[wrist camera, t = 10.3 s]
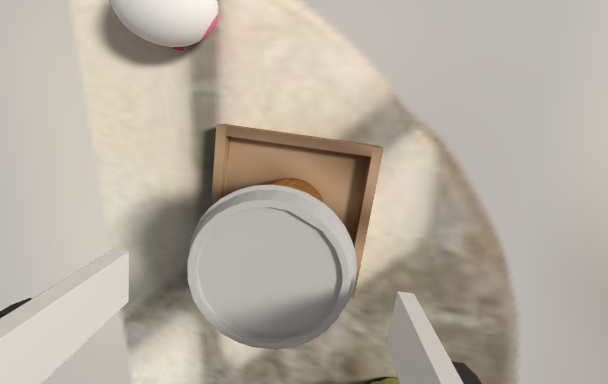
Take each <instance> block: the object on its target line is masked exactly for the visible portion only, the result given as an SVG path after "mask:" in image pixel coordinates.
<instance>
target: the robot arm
mask: <svg viewBox="0 0 608 384" xmlns="http://www.w3.org/2000/svg"><path fill="white" fill-rule="evenodd" d="M128 302H129V251H124V250H117V249H113V250H111V251H110V252H108V253H106V254H105V255H103V256H102V257H100V258H98V259H97V260H95V261H93V262H92V263H90V264H88V265H87V266H85V267H84V268H82V269H80V270H79V271H77V272H75V273H74V274H72V275H70V276H69V277H67V278H66V279H64V280H62V281H61V282H59V283H57V284H56V285H54V286H53V287H51V288H49V289H48V290H46V291H44V292H43V293H41V294H40V295H38V296H37V297H35V298H33V299H32V298H29V299H26V300H23V301H21V302H18V303H16V304H13V305H10V306H9V307H7V308H6V309H4V310H2V311H0V384H41V383H42V382H43V381H44V380H46V379H47V378H48V377H49V376H50V375H51V374H52V373H53V372H54V371H55V370H56V369H57V368H58V367H59V366H60V365H62V364H63V363H64V362H65V361H66V360H67V359H68V358H69V357H70V356H71V355H72V354H73V353H74V352H75V351H76V350H78V349H79V348H80V347H81V346H82V345H83V344H84V343H85V342H86V341H87V340H88V339H89V338H90V337H91V336H92V335H94V334H95V332H97V331H98V330H99V329H100V328H101V327H102V326H103V325H104V324H105V323H106V322H107V321H108V320H109V319H111V318H112V317H113V316H114V315H115V314H116V313H117V312H118V311H119V310H120V309H121V308H122V307H123V306H124V305H125V304H127V303H128ZM387 344H388V347H389V350H390V354H391V357H392V360H393V363H394V367H395V370H396V373H397V376H398V379H399V383H400V384H482V383H481V382H480V380H479V379H478V377H477V375H476V374H475V373H473V372H472V371H471V370H470V369H469V368H468V367H467V366H466V365H465V364H464V363H458V362H451V360H450V358H449V356H448V355H447V353H446V351H445V349H444V347H443V346H442V344H441V342H440V340H439V338H438V337H437V335H436V333H435V331H434V329H433V328H432V326H431V324H430V322H429V320H428V319H427V317H426V315H425V313H424V311H423V310H422V308H421V306H420V304H419V302H418V301H417V299H416V297H415V295H414V294H412V293H405V292H398V293H397V297H396V301H395V306H394V310H393V314H392V319H391V323H390V328H389V332H388V336H387Z"/></svg>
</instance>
